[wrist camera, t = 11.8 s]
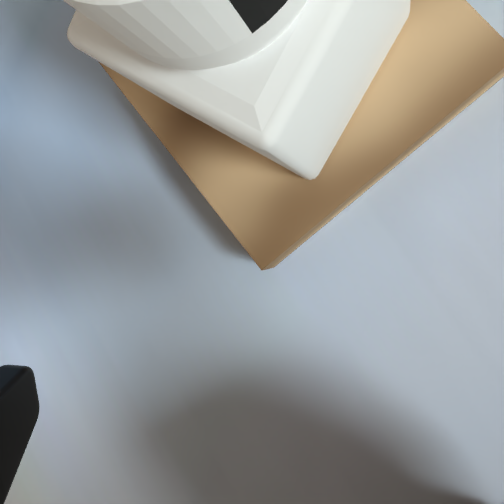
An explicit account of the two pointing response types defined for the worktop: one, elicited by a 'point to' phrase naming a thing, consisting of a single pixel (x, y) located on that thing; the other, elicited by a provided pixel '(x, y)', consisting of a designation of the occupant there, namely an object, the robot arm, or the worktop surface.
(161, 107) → the tan flat square slab
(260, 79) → the medicine bottle
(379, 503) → the worktop surface
